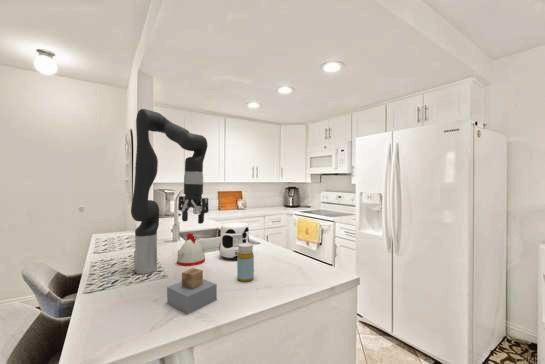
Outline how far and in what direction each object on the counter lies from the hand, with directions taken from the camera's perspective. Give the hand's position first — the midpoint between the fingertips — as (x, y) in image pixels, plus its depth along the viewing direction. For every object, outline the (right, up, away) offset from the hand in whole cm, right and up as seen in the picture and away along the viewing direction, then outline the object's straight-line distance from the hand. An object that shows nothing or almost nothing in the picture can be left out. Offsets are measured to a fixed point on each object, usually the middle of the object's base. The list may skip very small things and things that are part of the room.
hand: (192, 222), depth 104 cm
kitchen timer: (-10, -26, +29) cm, 40 cm away
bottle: (+21, -26, +6) cm, 34 cm away
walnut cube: (+4, -20, -14) cm, 25 cm away
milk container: (+12, -25, +38) cm, 47 cm away
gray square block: (+4, -26, -14) cm, 30 cm away
